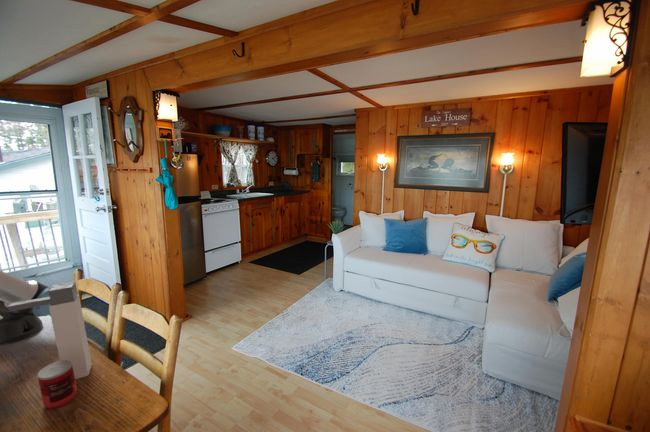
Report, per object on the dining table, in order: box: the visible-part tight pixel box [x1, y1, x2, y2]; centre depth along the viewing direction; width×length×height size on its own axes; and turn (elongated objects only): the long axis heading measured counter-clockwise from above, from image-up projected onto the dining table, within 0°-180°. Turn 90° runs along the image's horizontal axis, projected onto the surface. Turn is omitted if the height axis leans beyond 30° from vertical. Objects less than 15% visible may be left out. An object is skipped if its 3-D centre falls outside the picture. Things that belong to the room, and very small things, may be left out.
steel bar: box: [8, 281, 79, 312], centre depth 90 cm, size 5×16×5 cm, turn 121°
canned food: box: [37, 360, 78, 410], centre depth 87 cm, size 8×8×11 cm
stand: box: [49, 293, 93, 380], centre depth 96 cm, size 6×6×28 cm
